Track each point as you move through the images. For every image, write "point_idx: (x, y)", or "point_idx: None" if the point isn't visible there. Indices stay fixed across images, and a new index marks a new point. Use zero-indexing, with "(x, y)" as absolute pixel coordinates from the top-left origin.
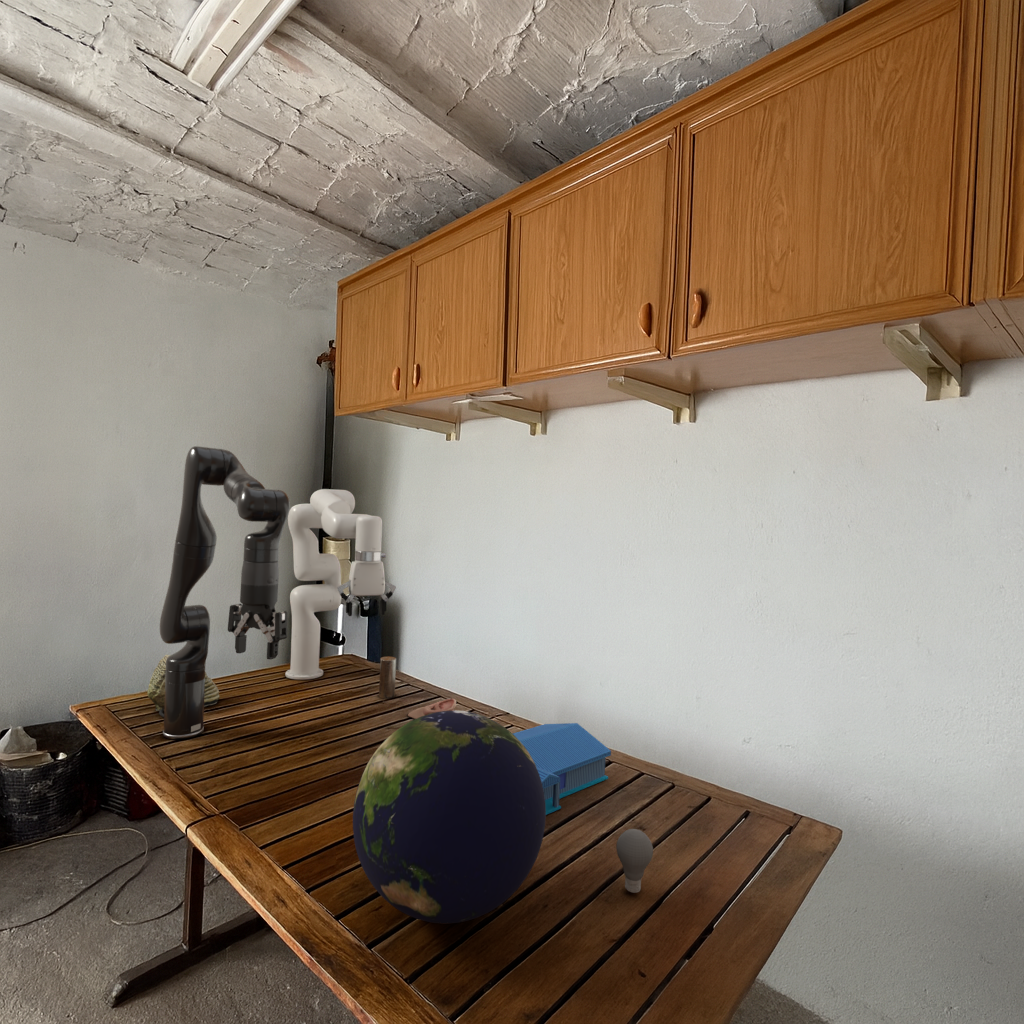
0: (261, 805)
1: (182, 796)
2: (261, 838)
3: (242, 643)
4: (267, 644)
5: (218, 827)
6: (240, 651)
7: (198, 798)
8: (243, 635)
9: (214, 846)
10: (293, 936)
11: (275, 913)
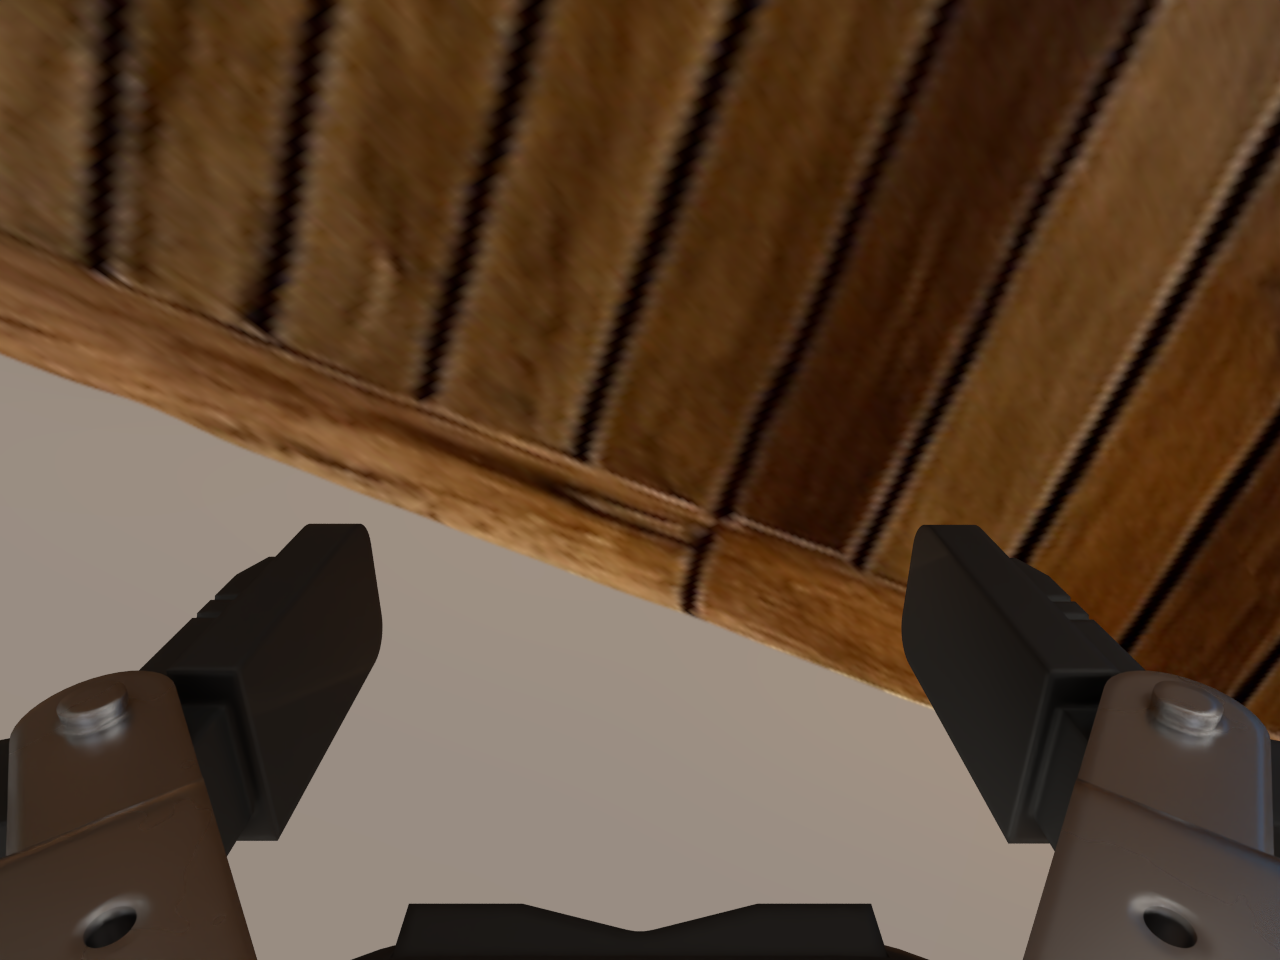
0: (814, 416)
1: (498, 485)
2: None
3: (323, 666)
4: (993, 811)
5: (782, 584)
6: (369, 619)
7: (562, 473)
8: (229, 733)
9: (850, 660)
10: None
11: None
